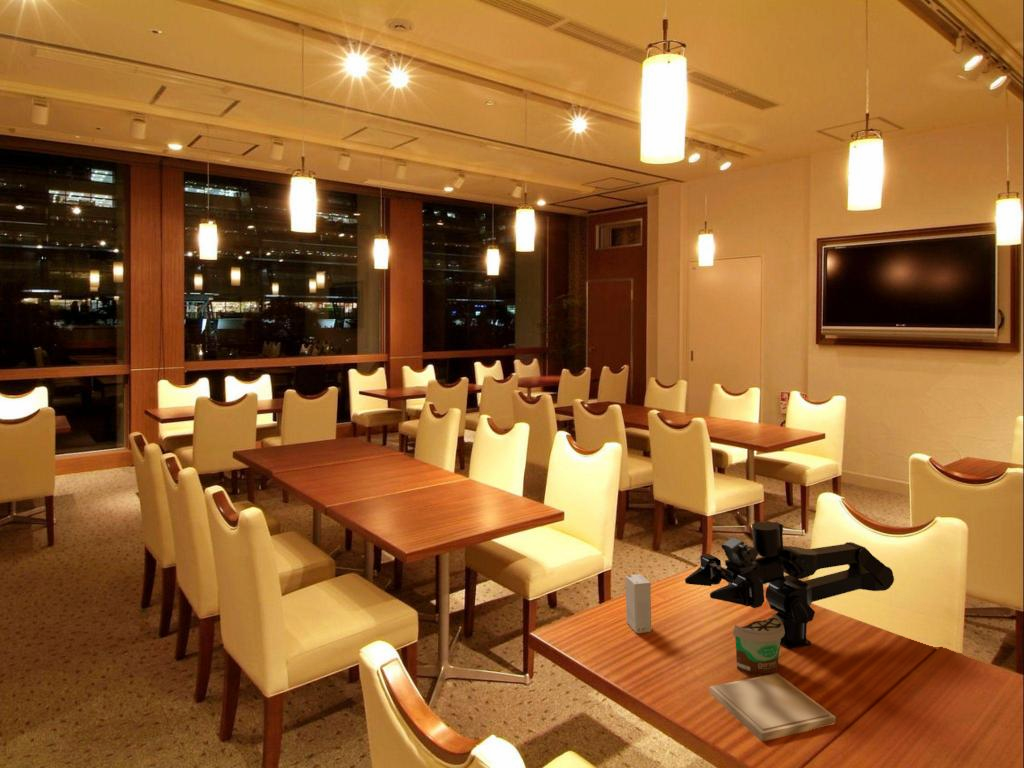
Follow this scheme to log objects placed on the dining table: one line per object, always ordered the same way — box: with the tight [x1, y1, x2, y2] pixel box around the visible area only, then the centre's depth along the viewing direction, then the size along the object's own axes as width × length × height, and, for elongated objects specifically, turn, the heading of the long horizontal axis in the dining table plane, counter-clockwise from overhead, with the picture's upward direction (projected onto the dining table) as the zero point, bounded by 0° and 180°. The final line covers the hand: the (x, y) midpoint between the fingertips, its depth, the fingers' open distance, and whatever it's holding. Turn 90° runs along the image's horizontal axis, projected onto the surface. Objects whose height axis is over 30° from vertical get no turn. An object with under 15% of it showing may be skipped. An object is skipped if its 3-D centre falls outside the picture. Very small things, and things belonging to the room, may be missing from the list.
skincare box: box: [625, 573, 652, 634], centre depth 161 cm, size 6×4×12 cm
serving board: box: [709, 672, 837, 742], centre depth 128 cm, size 16×16×2 cm
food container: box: [732, 613, 785, 677], centre depth 141 cm, size 12×6×10 cm, turn 117°
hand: (697, 588), depth 144 cm, fingers open, 9 cm apart
